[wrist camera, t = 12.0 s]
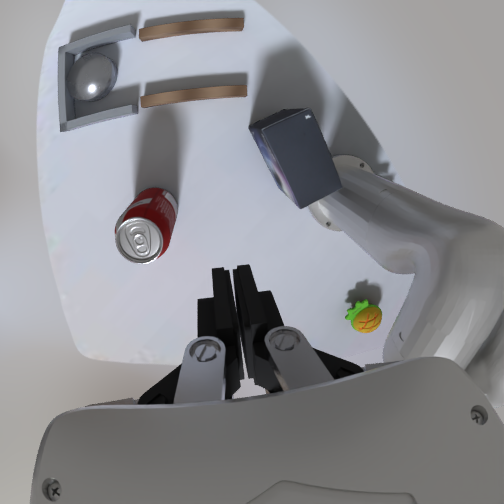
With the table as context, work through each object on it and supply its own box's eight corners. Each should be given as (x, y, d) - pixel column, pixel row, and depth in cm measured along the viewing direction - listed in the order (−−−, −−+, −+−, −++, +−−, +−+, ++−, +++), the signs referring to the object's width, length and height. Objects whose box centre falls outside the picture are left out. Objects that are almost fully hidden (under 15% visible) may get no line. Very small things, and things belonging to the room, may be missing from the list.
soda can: (173, 182, 38) (161, 206, 27) (182, 225, 41) (174, 264, 30) (130, 191, 37) (103, 218, 26) (140, 233, 40) (120, 272, 29)
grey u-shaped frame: (135, 30, 26) (130, 24, 24) (137, 113, 32) (132, 113, 30) (67, 51, 25) (58, 47, 22) (69, 130, 31) (60, 132, 28)
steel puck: (116, 50, 27) (109, 46, 25) (119, 93, 30) (112, 91, 28) (74, 66, 27) (65, 63, 24) (77, 107, 30) (68, 106, 27)
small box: (244, 127, 36) (258, 128, 27) (285, 108, 35) (311, 104, 26) (277, 190, 41) (299, 212, 31) (314, 171, 40) (346, 187, 31)
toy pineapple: (358, 328, 57) (368, 344, 53) (334, 309, 53) (344, 326, 49) (380, 307, 56) (392, 322, 51) (359, 286, 52) (371, 301, 47)
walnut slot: (241, 22, 28) (243, 18, 27) (245, 96, 34) (247, 95, 32) (142, 33, 27) (139, 29, 25) (144, 107, 32) (141, 107, 30)
